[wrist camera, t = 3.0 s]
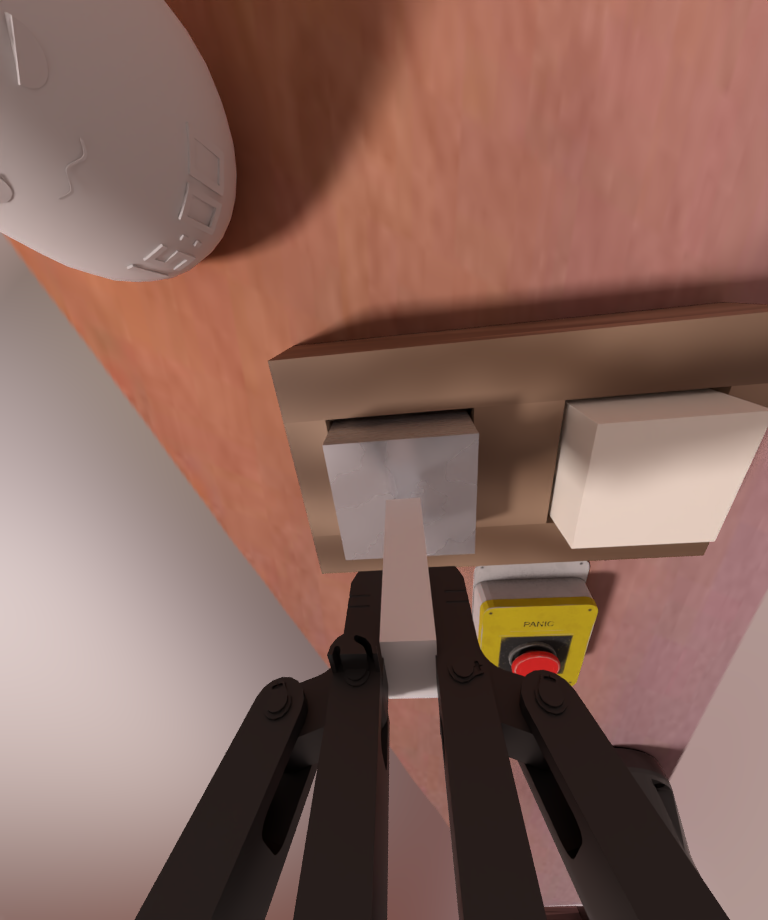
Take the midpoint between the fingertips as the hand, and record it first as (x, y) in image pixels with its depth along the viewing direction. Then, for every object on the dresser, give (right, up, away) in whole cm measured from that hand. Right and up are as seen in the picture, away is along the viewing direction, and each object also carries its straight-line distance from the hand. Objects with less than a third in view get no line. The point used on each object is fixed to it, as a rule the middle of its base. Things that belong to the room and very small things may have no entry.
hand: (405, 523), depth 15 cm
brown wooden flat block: (+6, +4, +7) cm, 10 cm away
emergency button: (+12, -12, +16) cm, 23 cm away
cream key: (+12, +3, +4) cm, 13 cm away
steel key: (0, +2, +4) cm, 5 cm away
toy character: (-12, +17, +1) cm, 21 cm away
